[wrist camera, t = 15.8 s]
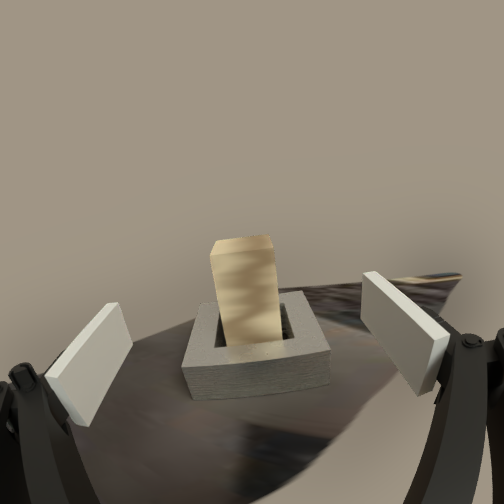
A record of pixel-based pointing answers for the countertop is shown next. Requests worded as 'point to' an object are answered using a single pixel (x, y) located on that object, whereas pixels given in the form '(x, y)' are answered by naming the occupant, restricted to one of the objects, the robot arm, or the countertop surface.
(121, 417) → the countertop surface
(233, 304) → the upright pine post
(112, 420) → the countertop surface
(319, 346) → the grey square frame block
